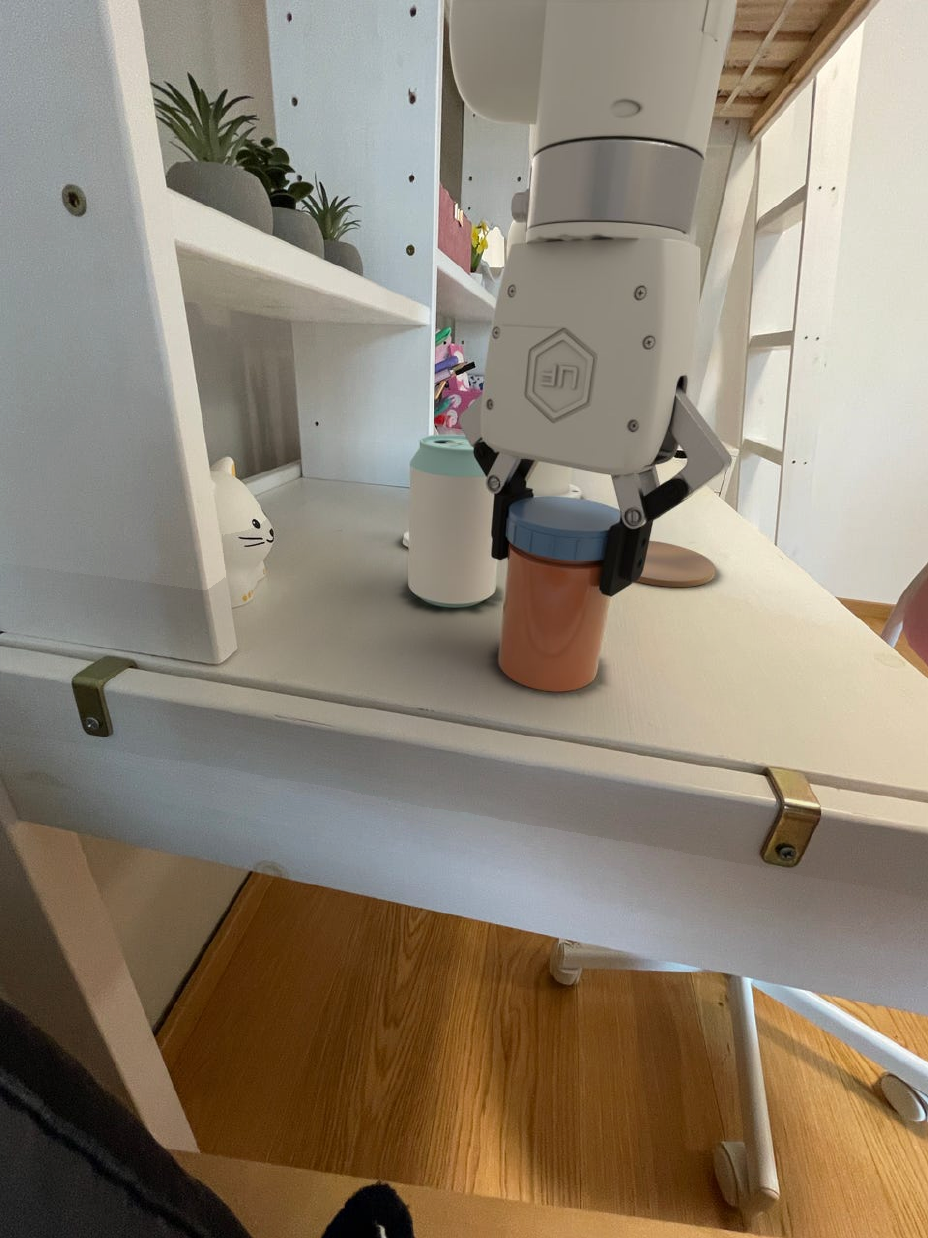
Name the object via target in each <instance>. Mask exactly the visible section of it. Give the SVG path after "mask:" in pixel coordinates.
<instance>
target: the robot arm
mask: <svg viewBox="0 0 928 1238" xmlns="http://www.w3.org/2000/svg"><path fill="white" fill-rule="evenodd" d="M449 5H450V6H449V35H448V36H449V39H448V40H449V51H450V61H451V68H452V73H453V78H454V81H455V84H456V87H457V90H458V93H459V95H460V97H461V99H462V100H463V102H464V104H465V105H466V106H467V108H468V109H469V110H470V111H471V112H472V113H473V114H474V115H476V116H477V117H479V118H481V119H484V120H487V121H489V122H492V123H495V124H496V123H498V124H513V125H529V137H528V138H529V139H528V143H529V144H528V145H529V146H528V147H529V150H528V151H529V152H528V153H529V161H530V165H531V168H530V173H529V185H528V187H527V188H526V189H525V190H517V191H516V192H515V193H514V194H513V196H512V200H511V206H510V208H511V209H510V210H511V216H512V218H513V220H512V222H511V225H510V227H509V229H508V235H507V241H506V262H505V265H504V267H503V272H502V277H501V278H500V284H499V287H498V290H497V296H496V301H495V306H494V311H493V316H492V320H491V327H490V334H489V338H488V340H489V341H488V346H487V352H486V359H485V368H484V375H483V385H482V393H480V395H478V396H477V398H475V400H473V401H472V403H470V404H469V406H467V407H466V409H464V410H463V411H462V412H461V413H460V415H459V417H458V425H459V427H460V429H461V431H462V433H463V435H465V436H466V438H467V440H468V442H469V444H470V445H471V447H473V448H474V450H473V453H474V457H475V459H476V461H477V462H478V464H479V466H480V467H481V469H482V470H483V472H484V474H485V475H486V477H487V479H486V487H487V489H488V490H489V492H491V493H493V494H494V503H493V516H492V528H491V536H492V550H491V556H492V558H494V559H497V560H498V561H503V560H505V559H508V548H509V540H508V538H507V537H506V526H507V518H508V516H509V507H510V505H511V504H512V503H514V502H516V501H519V500H522V499H526V498H532V497H547V496H550V497H569V498H578V499H582V498H581V497H582V491H581V489H580V488H579V487H578V486H577V485H574V484H573V483H571V481H572V475H573V474H572V473H573V469H575V470H580V471H585V472H591V473H597V474H603V475H610V476H611V481H612V485H613V489H614V493H615V497H616V502H617V505H618V508H619V509H618V510H620V513H621V516H620V522H618V523H616V524H614V525H612V526H611V527H610V529H609V533H608V539H607V545H606V551H605V556H604V562H603V568H602V574H601V580H600V586H599V590H600V591H601V593H602V594H604V595H607V596H610V597H611V598H612V597H614V596H615V595H617V594H618V593H620V592H622V591H623V590H625V589H626V588H628V587H629V586H631V585H632V584H633V583H635V582H636V580H638V579H639V578H640V576H641V574H642V572H643V569H644V564H645V559H646V554H647V549H648V545H649V541H651V540H650V539H651V535H652V529H653V524H654V521H655V520H657V519H659V518H661V517H662V516H663V515H665V514H666V513H667V512H670V511H671V510H673V509H675V508H676V507H677V506H679V505H680V504H681V503H683V502H685V501H687V500H688V499H689V498H691V497H693V495H695V493H697V492H698V491H700V490H701V489H703V488H704V487H706V486H707V485H708V484H709V483H711V482H712V481H714V480H715V479H717V478H718V477H719V476H721V475H723V473H725V472H726V471H727V470H729V468H731V465H732V463H733V457H732V455H731V454H730V452H729V450H728V449H727V448H726V447H725V445H724V444H723V442H722V441H721V440H720V439H719V437H718V436H717V434H716V433H715V432H714V431H713V429H712V428H711V427H710V425H709V424H708V422H707V421H706V419H705V418H704V417H703V415H702V414H701V413H700V412H699V410H698V409H697V407H696V406H695V404H694V403H693V402H692V401H691V400H690V394H691V390H692V389H691V387H692V381H693V374H694V367H695V358H696V349H697V340H698V330H699V329H698V328H699V313H700V298H701V297H700V296H701V295H700V294H701V248H700V247H699V246H698V245H696V244H694V243H692V242H690V237H691V232H692V225H693V220H694V215H695V210H696V205H697V201H698V194H699V189H700V184H701V180H702V173H703V169H704V162H705V159H706V153H707V148H708V143H709V137H710V133H711V128H712V127H711V126H712V121H713V117H714V111H715V107H716V100H717V96H718V91H719V84H720V82H721V81H720V80H721V75H722V72H723V69H724V65H725V62H726V60H727V55H728V53H729V47H730V46H731V45H730V44H731V41H732V35H733V31H734V27H735V18H736V12H737V5H738V0H450V4H449ZM679 447H680V448H681V450H682V451H683V452H684V454H685V455H686V458H687V459H686V464H685V465H684V467H683V468H682V469H681V470H679V471H678V472H677V473H676V474H675V475H673V476H672V477H671V478H669V479H668V480H666V481H664V482H663V483H660V479H659V475H658V471H657V465H661V464H665V463H667V462H669V461H671V460H672V459H673V458H674V457H675V455H676V453H677V451H678V450H679Z"/></svg>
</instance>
